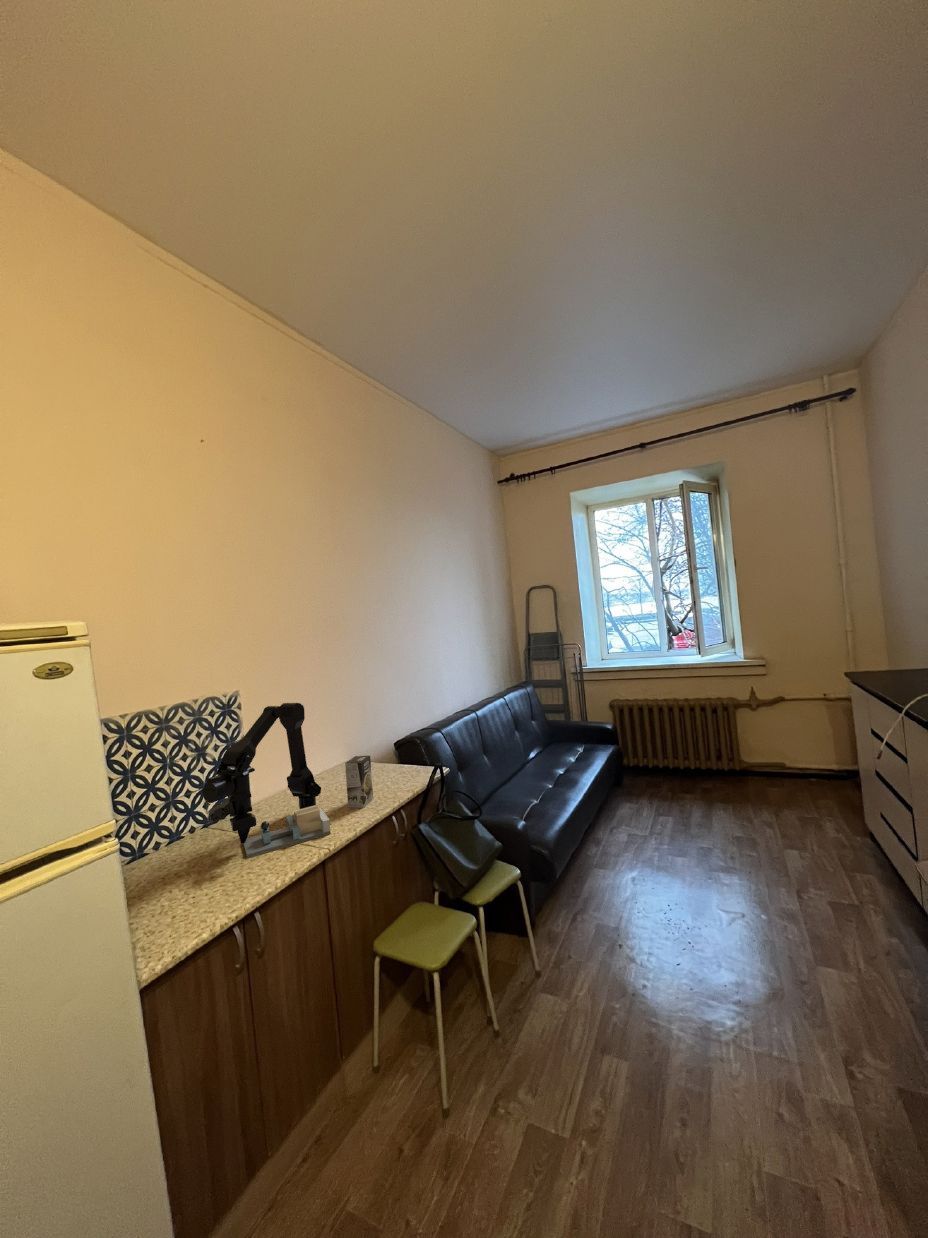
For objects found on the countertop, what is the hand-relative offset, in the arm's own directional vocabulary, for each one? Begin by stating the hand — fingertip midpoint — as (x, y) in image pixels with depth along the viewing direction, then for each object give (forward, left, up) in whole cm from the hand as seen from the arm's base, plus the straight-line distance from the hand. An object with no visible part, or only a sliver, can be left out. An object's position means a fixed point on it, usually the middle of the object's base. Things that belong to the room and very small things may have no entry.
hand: (243, 843), depth 143 cm
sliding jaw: (0, +10, -1) cm, 10 cm away
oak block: (0, +19, -1) cm, 19 cm away
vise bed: (0, +12, -2) cm, 13 cm away
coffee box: (-13, +40, -3) cm, 43 cm away
